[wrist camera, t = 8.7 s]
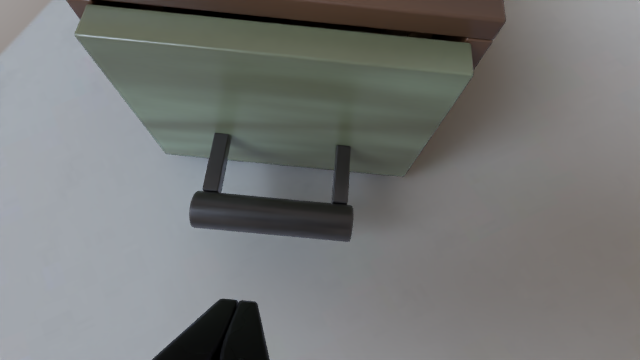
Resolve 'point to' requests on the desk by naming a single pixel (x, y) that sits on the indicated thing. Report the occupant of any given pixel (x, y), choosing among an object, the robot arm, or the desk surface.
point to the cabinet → (360, 15)
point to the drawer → (277, 101)
